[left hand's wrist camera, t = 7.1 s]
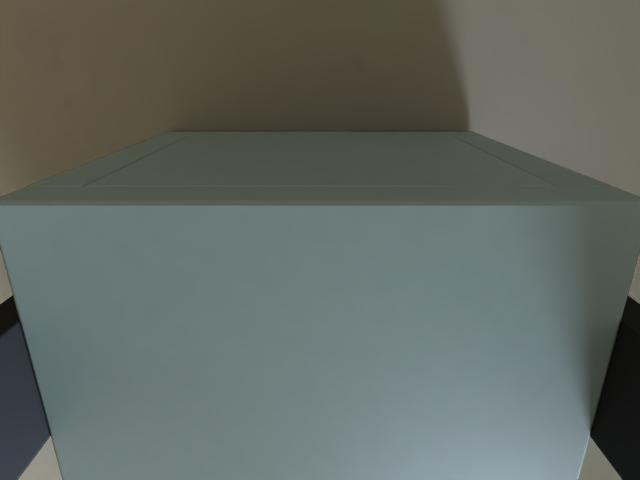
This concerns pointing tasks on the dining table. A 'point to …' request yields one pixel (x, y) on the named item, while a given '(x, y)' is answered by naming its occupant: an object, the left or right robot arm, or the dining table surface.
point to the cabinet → (320, 307)
